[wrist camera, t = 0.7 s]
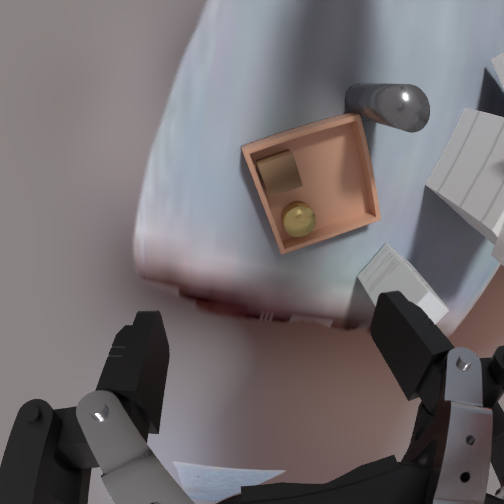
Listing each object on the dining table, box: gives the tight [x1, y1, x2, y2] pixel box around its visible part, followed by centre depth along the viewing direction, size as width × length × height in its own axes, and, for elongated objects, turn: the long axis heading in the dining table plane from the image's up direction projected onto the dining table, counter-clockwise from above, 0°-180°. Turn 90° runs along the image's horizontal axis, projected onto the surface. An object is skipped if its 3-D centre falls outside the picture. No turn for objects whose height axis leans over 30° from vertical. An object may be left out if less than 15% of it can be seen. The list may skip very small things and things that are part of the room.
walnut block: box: [256, 149, 303, 197], centre depth 32 cm, size 4×4×2 cm
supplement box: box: [357, 243, 449, 325], centre depth 38 cm, size 7×7×13 cm
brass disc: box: [281, 201, 316, 237], centre depth 35 cm, size 4×4×2 cm
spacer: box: [345, 84, 430, 132], centre depth 25 cm, size 5×5×11 cm
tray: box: [241, 113, 381, 255], centre depth 34 cm, size 14×14×3 cm
